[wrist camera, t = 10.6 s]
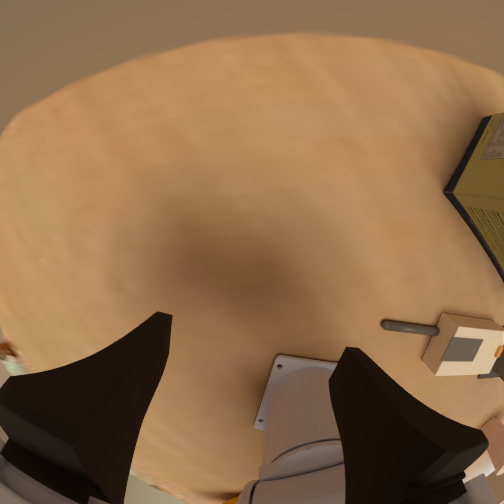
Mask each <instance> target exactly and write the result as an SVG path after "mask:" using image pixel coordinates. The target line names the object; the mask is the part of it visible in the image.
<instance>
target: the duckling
mask: <svg viewBox="0 0 504 504" xmlns="http://www.w3.org/2000/svg"><path fill="white" fill-rule="evenodd" d="M238 497H239V496H238ZM238 497H234V498H232V499H230V500H228V501H226V502H224V503H223V504H237V500H238Z"/></svg>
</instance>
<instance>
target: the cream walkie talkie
mask: <svg viewBox="0 0 504 504" xmlns="http://www.w3.org/2000/svg"><path fill="white" fill-rule="evenodd" d="M382 328H383V329H384V330H389V331H397V332H405V333H414V334H423V335H432V338H431V340H430V343H429V345H428V347H427V349H426V351H425V353H424V356H423V358H422V360H423V361H424V363H425V364H426V365H427V366H428V367H429V369H430V370H431V371H432V372H433V374H434V375H435V376H450V375H474V374H489V372H490V371H491V369H492V367H493V365H494V363H495V361H496V359H497V358H499V357H500V355H501V353H502V350H503V348H504V347H503V345H504V328H503V327H502V326H501V325H499V324H498V323H496V322H495V321H493V320H486V319H479V318H472V317H465V316H459V315H452V314H446V313H442V314H441V317H440V319H439V322H438V324H437V327H430V326H423V325H415V324H408V323H400V322H393V321H384V322H383V323H382Z"/></svg>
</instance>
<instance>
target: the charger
mask: <svg viewBox="0 0 504 504" xmlns="http://www.w3.org/2000/svg"><path fill="white" fill-rule="evenodd" d="M503 347H504V345H503ZM492 370H493V371H494V372H495V373H496V374H497V375H498V376H499V377H500V378H501V379H502V380H503V381H504V348H503V350H502V353H501V355H500V357H499V358H497V359H496V361H495V363H494V365H493V367H492Z"/></svg>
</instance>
